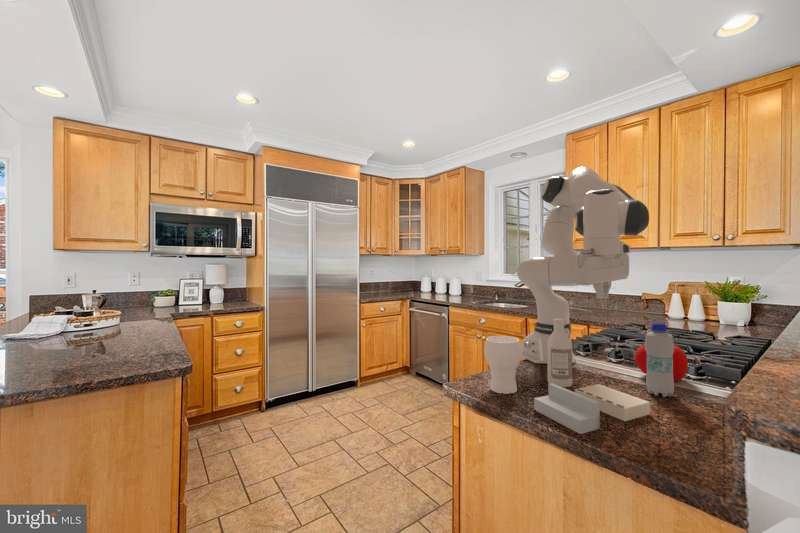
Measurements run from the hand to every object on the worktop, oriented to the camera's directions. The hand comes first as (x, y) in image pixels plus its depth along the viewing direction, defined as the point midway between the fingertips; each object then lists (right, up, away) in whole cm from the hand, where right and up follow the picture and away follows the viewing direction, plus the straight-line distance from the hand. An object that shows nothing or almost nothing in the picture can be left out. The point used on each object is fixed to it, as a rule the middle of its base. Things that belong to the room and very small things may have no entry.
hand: (602, 298), depth 98 cm
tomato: (+26, -27, +13) cm, 40 cm away
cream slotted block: (-2, -27, -7) cm, 28 cm away
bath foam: (-7, -27, +11) cm, 30 cm away
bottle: (+16, -27, +1) cm, 32 cm away
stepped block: (-16, -28, -13) cm, 35 cm away
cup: (-25, -28, +8) cm, 38 cm away
